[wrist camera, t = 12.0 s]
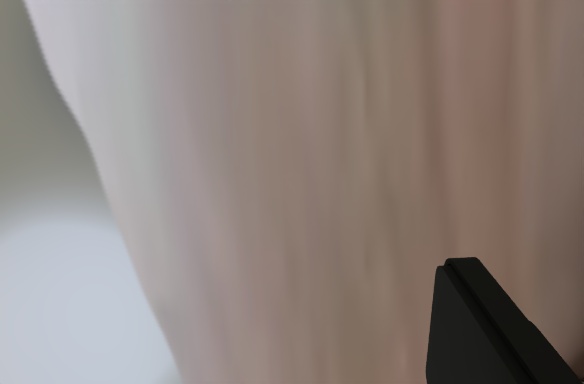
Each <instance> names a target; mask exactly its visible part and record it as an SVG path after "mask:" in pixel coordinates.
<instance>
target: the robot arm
mask: <svg viewBox="0 0 584 384" xmlns="http://www.w3.org/2000/svg"><path fill="white" fill-rule="evenodd" d="M426 379H427V384H584V382H581V380H580V379H579V378H578V377H577V376H576V374H575V373H574V372H573V371H572V369H571V368H570V367H569V366H568V365H567V363H566V362H565V361H564V360H563V359H562V357H561V356H560V355H559V354H558V352H557V351H556V350H555V349H554V348H553V346H552V345H551V344H550V343H549V342H548V340H547V339H546V338H545V337H544V335H543V334H542V333H541V332H540V331H539V329H538V328H537V327H536V326H535V325H534V324H533V323H532V322H531V321H529V320H528V319H527V318H526V317H525V316H524V314H523V313H522V312H521V311H520V309H519V308H518V307H517V306H516V305H515V303H514V302H513V301H512V300H511V298H510V297H509V296H508V295H507V293H506V292H505V291H504V290H503V289H502V287H501V286H500V285H499V284H498V282H497V281H496V280H495V279H494V278H493V276H492V275H491V274H490V273H489V271H488V270H487V269H486V268H485V266H484V265H483V264H482V263H481V262H480V260H479V259H477V258H476V257H467V258H448V259H447V260H446V261H445V264H444V266H438V267H437V269H436V274H435V284H434V293H433V303H432V313H431V323H430V333H429V343H428V352H427V362H426Z"/></svg>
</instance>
